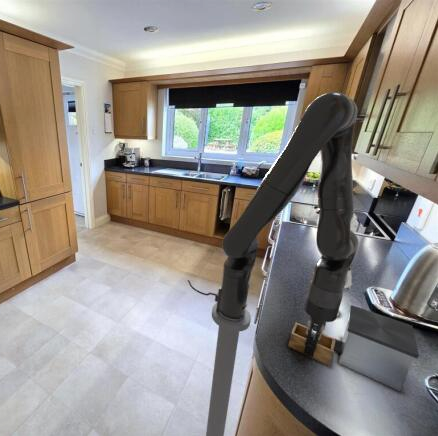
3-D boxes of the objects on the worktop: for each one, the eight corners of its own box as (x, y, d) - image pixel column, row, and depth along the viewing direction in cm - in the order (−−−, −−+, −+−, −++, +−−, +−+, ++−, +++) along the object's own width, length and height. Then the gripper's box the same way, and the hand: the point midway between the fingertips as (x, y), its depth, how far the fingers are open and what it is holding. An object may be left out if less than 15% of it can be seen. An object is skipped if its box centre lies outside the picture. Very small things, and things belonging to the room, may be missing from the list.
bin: (330, 360, 68) (340, 325, 64) (334, 334, 77) (344, 302, 74) (402, 393, 59) (419, 355, 55) (397, 360, 68) (412, 325, 65)
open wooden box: (288, 346, 73) (291, 333, 71) (292, 335, 77) (295, 322, 75) (328, 366, 66) (333, 351, 65) (331, 352, 71) (335, 338, 69)
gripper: (311, 283, 74) (300, 328, 79) (302, 305, 63) (290, 355, 68) (342, 292, 69) (328, 340, 74) (337, 319, 59) (322, 371, 64)
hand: (310, 347), depth 71 cm, fingers closed on open wooden box, 6 cm apart
